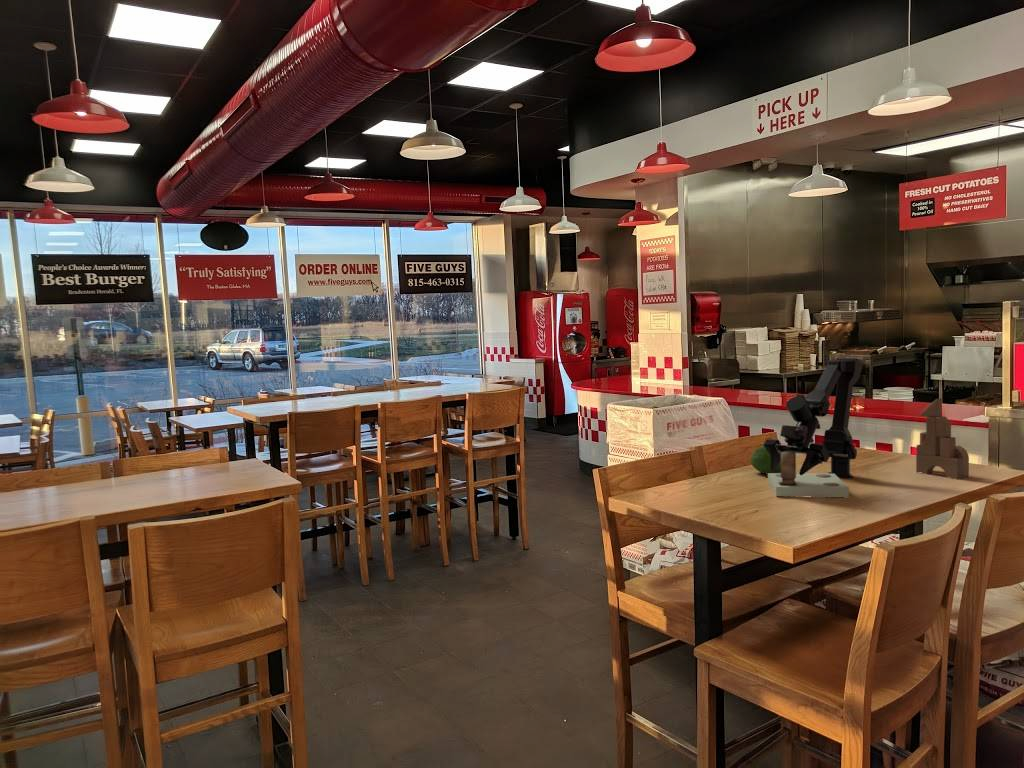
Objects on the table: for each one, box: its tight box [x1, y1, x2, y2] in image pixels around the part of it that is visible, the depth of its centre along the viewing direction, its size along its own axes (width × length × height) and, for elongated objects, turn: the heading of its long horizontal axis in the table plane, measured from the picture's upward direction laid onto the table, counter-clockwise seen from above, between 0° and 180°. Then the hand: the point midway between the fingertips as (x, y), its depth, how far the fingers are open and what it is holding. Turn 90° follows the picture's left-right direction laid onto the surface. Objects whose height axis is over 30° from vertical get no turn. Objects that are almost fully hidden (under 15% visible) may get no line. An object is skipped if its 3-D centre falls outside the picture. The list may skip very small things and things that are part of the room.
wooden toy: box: [915, 398, 970, 480], centre depth 235 cm, size 15×7×25 cm, turn 27°
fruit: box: [750, 444, 786, 474], centre depth 246 cm, size 15×10×10 cm, turn 35°
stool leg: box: [781, 452, 797, 486], centre depth 217 cm, size 4×4×12 cm
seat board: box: [767, 472, 850, 499], centre depth 222 cm, size 20×20×3 cm
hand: (785, 472), depth 216 cm, fingers open, 9 cm apart
